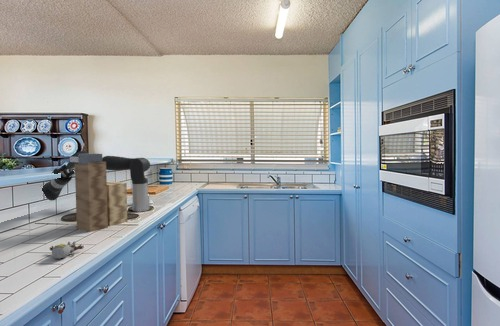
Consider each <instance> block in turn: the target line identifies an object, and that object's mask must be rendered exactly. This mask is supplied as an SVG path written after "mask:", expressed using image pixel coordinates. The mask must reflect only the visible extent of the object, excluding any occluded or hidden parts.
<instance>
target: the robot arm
mask: <svg viewBox="0 0 500 326" xmlns="http://www.w3.org/2000/svg"><path fill="white" fill-rule="evenodd" d="M78 154H89V153H88V152H87V151H86V150H80V151H77V152H76V153H75V154H73V156H72V157H78ZM102 162H106V171H127V170H129V172H130V180H131V187H132V188H131V191H132V193H131V196H132V211H133V212H135V213H136V212H137V213H138V212H139V213H141V212H146V211H148V210H150V194H149V189H148V187H149V185H148V183H149V182H148V178H147V177H145V172H146V171H148V170H150V167H151V163H150V161H149V159H148V158H146V157H136V158H133V157H132V158H131V157H126V156H125V157H124V156H118V155H116V156H114V155H106V156H102ZM75 164H78V162H70V160H69V161H68V162H67V164H63V165H61V166H60V167H59V168H58V167H57V168H54V169H53V171H52V172H51V174H52V173H54V174H58V173H61V178H57V179H53V180H52V179H51V180H50V181H49V182H45V183H46V184H45V183H44V184H45V185H44V186H43V188H42V191H43V192H44V194H45V196H46V197H45V199H47V200H49V201H50V202H51V201H52V202H53V201H56V200H57V199H58V198H59V197H60V194H61V192H62V190H63V189H64V187H66V185H67V184H69V183H70V181H72V179H73V177H75ZM73 170H74V171H73Z"/></svg>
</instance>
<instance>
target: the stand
mask: <svg viewBox="0 0 500 326" xmlns="http://www.w3.org/2000/svg"><path fill="white" fill-rule="evenodd" d="M74 172H75V175H74V181H75V183H74V184H75V188H74V189H75V210H76V211H75V215H76V218H75V219H76V229H79V230H82V231H85V232H89V233H91V232H94V231H95V232H96V231H101V230H104V229H107V228H109V227H108V226H109V225H108V218H107V182H108V181H107V170H106V162H87V165H85V164H75V171H74Z"/></svg>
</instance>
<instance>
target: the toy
mask: <svg viewBox="0 0 500 326" xmlns="http://www.w3.org/2000/svg"><path fill="white" fill-rule="evenodd" d="M84 248H85V247H84V245H82V244H81V243H80V244H79V245H77V246H76V241H73V242H72V245H71V241H68V242H67V244H65V243H64V244H63V243H60V244H57V245H55V246H54V245H51V247H49V250H50V251H51V256H52V257H53V258H54V259H58V260H62V259H61V258H63V259H64V258H66V257H68V256H75V253H72V252H75V251H78V250H83V249H84ZM69 253H71V254H69Z"/></svg>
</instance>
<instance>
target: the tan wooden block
mask: <svg viewBox="0 0 500 326" xmlns="http://www.w3.org/2000/svg"><path fill="white" fill-rule="evenodd" d="M127 193H128V189H127V182H121V181H120V182H119V181H107V218H108V226H110V227H112V226H116V225H118V224H124V223H128V195H127Z"/></svg>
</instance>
